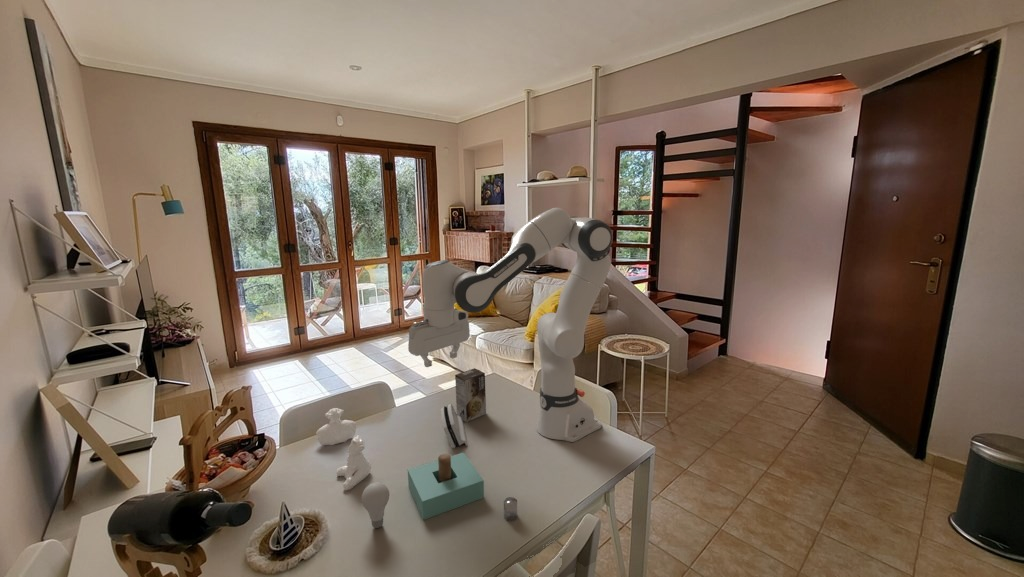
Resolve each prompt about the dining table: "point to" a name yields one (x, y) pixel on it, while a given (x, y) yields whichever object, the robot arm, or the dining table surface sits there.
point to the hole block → (445, 486)
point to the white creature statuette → (355, 464)
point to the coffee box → (470, 394)
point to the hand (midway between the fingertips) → (441, 361)
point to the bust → (335, 429)
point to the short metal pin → (510, 509)
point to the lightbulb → (375, 502)
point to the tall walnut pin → (444, 467)
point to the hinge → (453, 426)
